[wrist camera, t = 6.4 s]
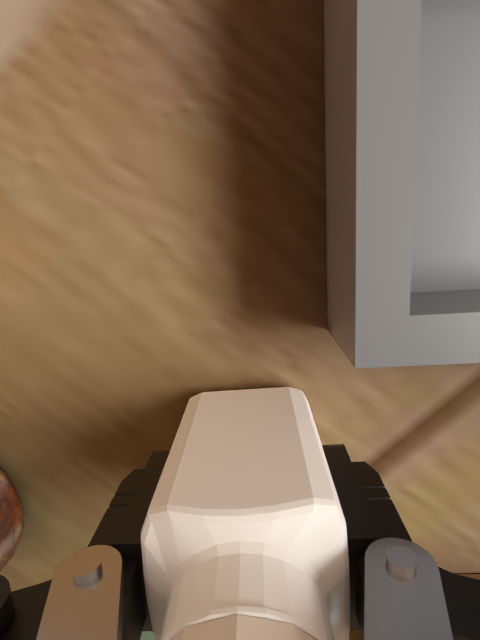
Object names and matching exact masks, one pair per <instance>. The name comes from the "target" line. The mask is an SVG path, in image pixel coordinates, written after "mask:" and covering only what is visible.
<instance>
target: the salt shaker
mask: <svg viewBox="0 0 480 640" xmlns="http://www.w3.org/2000/svg"><path fill="white" fill-rule="evenodd" d="M141 548H142V561H143V574H144V582H145V589H146V596H147V603H148V609H149V614H150V619H151V624H152V629H153V633H154V636H155V639H156V640H349V633H350V573H349V555H348V542H347V528H346V521H345V518H344V515H343V511H342V508H341V505H340V502H339V499H338V495H337V492H336V489H335V486H334V483H333V479H332V476H331V473H330V470H329V467H328V464H327V460H326V457H325V454H324V451H323V448H322V444H321V441H320V438H319V435H318V432H317V428H316V425H315V422H314V419H313V416H312V412H311V409H310V406H309V403H308V401H307V399H306V397H305V395H304V393H303V391H301V390H299V389H296V388H291V387H277V388H261V389H245V390H229V391H214V392H202V393H200V394H198V395H195V396H193V397H191V398H190V399H189V401H188V404H187V407H186V409H185V412H184V415H183V418H182V420H181V423H180V426H179V428H178V431H177V434H176V436H175V439H174V442H173V444H172V447H171V450H170V453H169V455H168V458H167V461H166V463H165V466H164V469H163V471H162V474H161V477H160V479H159V482H158V485H157V488H156V490H155V493H154V496H153V498H152V501H151V504H150V506H149V509H148V512H147V515H146V518H145V521H144V524H143V527H142V530H141Z"/></svg>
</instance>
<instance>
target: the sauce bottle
mask: <svg viewBox="0 0 480 640" xmlns="http://www.w3.org/2000/svg"><path fill="white" fill-rule="evenodd" d="M23 514H24V513H23V510H22V506H21V501H20V499H19V496H18V494H17V493H16V491H15V489H14V487H13V485H12V482H11V481H10V480H9V478H8V476H7V475H6V474H5V473H4V471H3V470H1V469H0V571H1V569H2V568H3V567H4V566H5V564H6V563H7V562H8V561H9V560H10V559H11V558H12V557H13V554H14V552H15V550H16V548H17V546H18V544H19V541H20V539H21V534H22V529H23V527H24V519H23Z"/></svg>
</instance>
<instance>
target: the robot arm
mask: <svg viewBox="0 0 480 640" xmlns="http://www.w3.org/2000/svg"><path fill="white" fill-rule="evenodd" d="M322 448H323V451H324V454H325V457H326V460H327V464H328V467H329V470H330V473H331V476H332V479H333V483H334V486H335V489H336V492H337V495H338V499H339V502H340V505H341V508H342V511H343V515H344V518H345V521H346V528H347V542H348V555H349V573H350V629H360V632H361V636H362V640H480V580H478V579H474V578H469V577H465V576H461V575H457V574H454V573H451V572H448V571H446V570H443V569H442V568H440V567H438V566H437V564H436V562H435V560H434V559H433V558H432V556H431V555H430V554H429V553H428V552H427V551H425V550H424V549H423V548H422V547H420V546H418V545H417V544H415V543H413V542H412V540H411V538H410V536H409V534H408V532H407V530H406V528H405V526H404V524H403V522H402V520H401V518H400V516H399V514H398V512H397V510H396V508H395V506H394V504H393V502H392V500H390V496H389V494H388V492H387V490H386V489H385V487H384V484H383V482H382V480H381V478H380V476H379V474H378V472H376V471H375V470H374V469H373V468H372V467H370V466H369V465H368V464H367V463H366V462H351V460H350V458H349V455H348V453H347V450H346V448H345V446H344V444H337V445H322ZM169 453H170V450H169V451H154V452H153V453H152V455H151V457H150V459H149V461H148V464H147V466H146V468H145V469H135V470H134V471H133V472H131V473H130V474H129V475H128V476H127V477H126V478H125V479H124V480H122V482H121V484H120V486H119V488H118V490H117V492H116V493H115V497H113V499H112V501H111V503H110V505H109V508H108V509H107V511H106V513H105V515H104V516H103V518H102V520H101V522H100V524H99V526H98V528H97V530H96V532H95V534H94V536H93V538H92V540H91V541H90V543H89V545H88V547H86V548H84V549H81V550H79V551H77V552H76V553H74V554H72V555H71V556H69V557H68V558H67V559H66V560H65V561H64V562H63V563H62V564H61V565H60V566H59V567H58V569H57V570H56V572H55V574H54V576H53V579H52V580H49V581H46V582H44V583H40V584H37V585H34V586H30V587H27V588H23V589H20V590H17V591H13V592H11V588H10V584H9V582H8V580H7V579H6V578H5V577H4V576H2V575H0V640H140V638H141V634H142V631H153V629H152V624H151V619H150V614H149V609H148V603H147V596H146V589H145V582H144V574H143V561H142V548H141V530H142V527H143V524H144V521H145V518H146V515H147V512H148V509H149V506H150V504H151V501H152V498H153V496H154V493H155V490H156V488H157V485H158V482H159V479H160V477H161V474H162V471H163V469H164V466H165V463H166V461H167V458H168V455H169Z"/></svg>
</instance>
